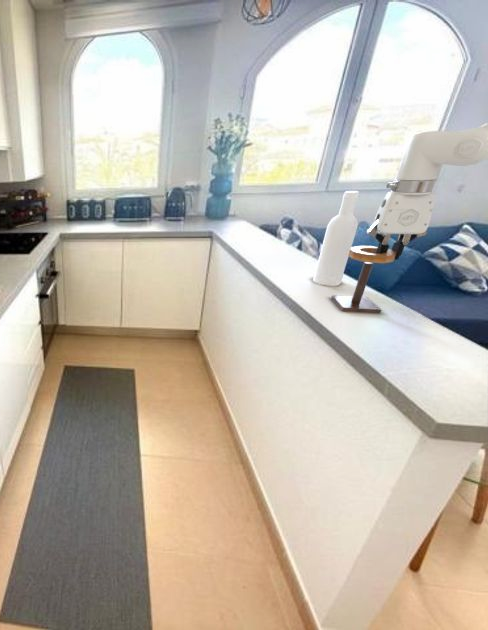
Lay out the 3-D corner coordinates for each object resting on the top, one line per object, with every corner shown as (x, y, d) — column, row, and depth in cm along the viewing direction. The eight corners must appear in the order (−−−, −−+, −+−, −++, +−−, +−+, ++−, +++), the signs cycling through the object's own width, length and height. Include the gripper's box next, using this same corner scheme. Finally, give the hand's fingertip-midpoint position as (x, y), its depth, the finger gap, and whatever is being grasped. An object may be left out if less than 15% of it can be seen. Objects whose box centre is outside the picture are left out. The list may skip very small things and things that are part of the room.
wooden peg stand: (365, 301, 104) (380, 258, 98) (379, 314, 96) (397, 268, 90) (330, 299, 107) (343, 257, 101) (342, 312, 99) (356, 267, 93)
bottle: (346, 286, 115) (375, 192, 102) (322, 287, 115) (348, 193, 102) (330, 277, 122) (355, 189, 109) (307, 279, 122) (330, 190, 109)
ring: (383, 253, 98) (385, 246, 97) (401, 263, 89) (404, 256, 88) (343, 252, 100) (345, 245, 99) (357, 262, 92) (359, 255, 91)
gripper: (380, 189, 85) (357, 261, 93) (464, 187, 80) (432, 263, 88) (367, 186, 91) (346, 253, 99) (443, 184, 86) (415, 254, 95)
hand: (387, 257), depth 94 cm, fingers closed on ring, 2 cm apart
